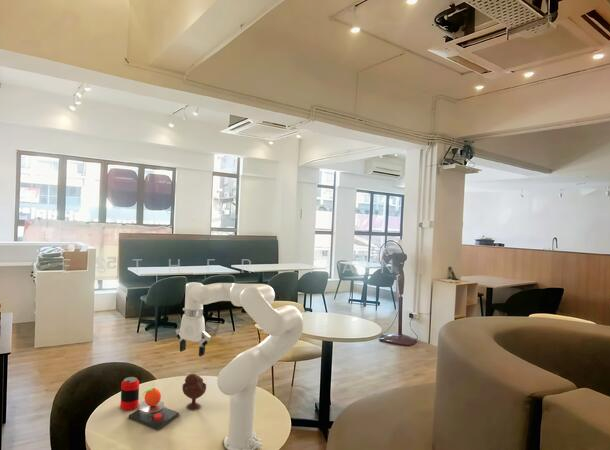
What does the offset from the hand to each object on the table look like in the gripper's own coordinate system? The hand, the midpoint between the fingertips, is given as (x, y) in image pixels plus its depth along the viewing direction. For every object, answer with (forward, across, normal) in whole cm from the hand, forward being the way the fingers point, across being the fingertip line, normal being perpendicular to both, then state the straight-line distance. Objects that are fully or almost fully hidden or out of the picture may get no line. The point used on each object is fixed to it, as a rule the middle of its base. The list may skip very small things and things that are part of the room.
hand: (192, 353), depth 154 cm
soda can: (+28, -29, -5) cm, 41 cm away
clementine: (+25, -17, -5) cm, 30 cm away
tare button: (+26, -9, -10) cm, 29 cm away
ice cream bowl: (+28, -5, +10) cm, 31 cm away
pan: (+25, -16, -5) cm, 31 cm away
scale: (+28, -14, -6) cm, 32 cm away
